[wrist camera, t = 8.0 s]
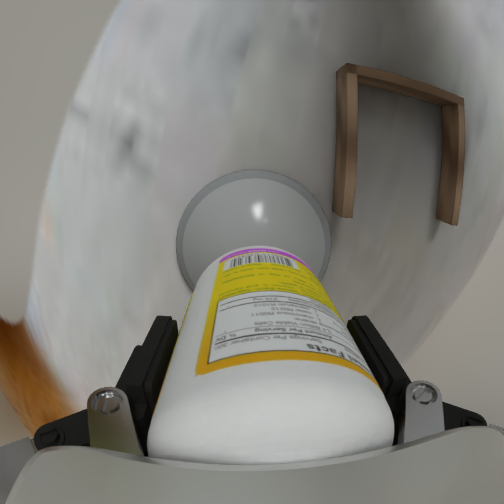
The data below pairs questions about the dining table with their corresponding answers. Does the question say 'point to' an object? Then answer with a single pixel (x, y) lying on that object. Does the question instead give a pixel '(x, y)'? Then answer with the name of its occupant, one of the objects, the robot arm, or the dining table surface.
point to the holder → (349, 129)
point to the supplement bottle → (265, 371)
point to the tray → (252, 222)
